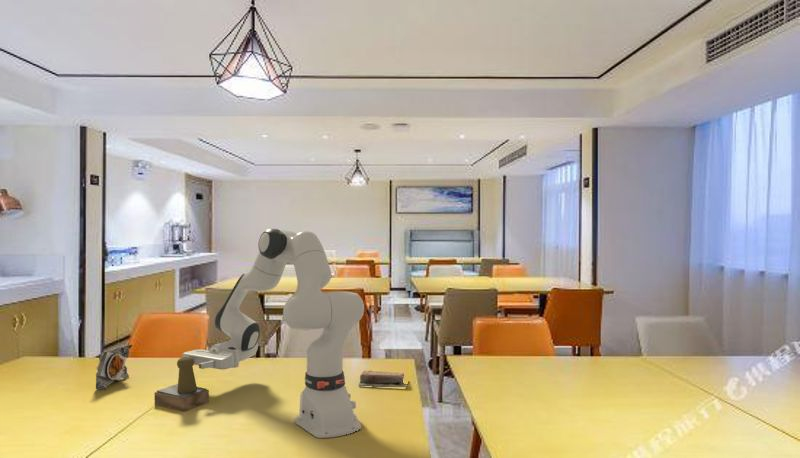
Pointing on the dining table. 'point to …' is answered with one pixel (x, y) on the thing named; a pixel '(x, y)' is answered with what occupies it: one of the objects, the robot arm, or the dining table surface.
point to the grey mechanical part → (112, 366)
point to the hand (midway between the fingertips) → (190, 364)
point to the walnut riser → (181, 398)
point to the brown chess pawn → (186, 375)
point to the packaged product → (381, 379)
